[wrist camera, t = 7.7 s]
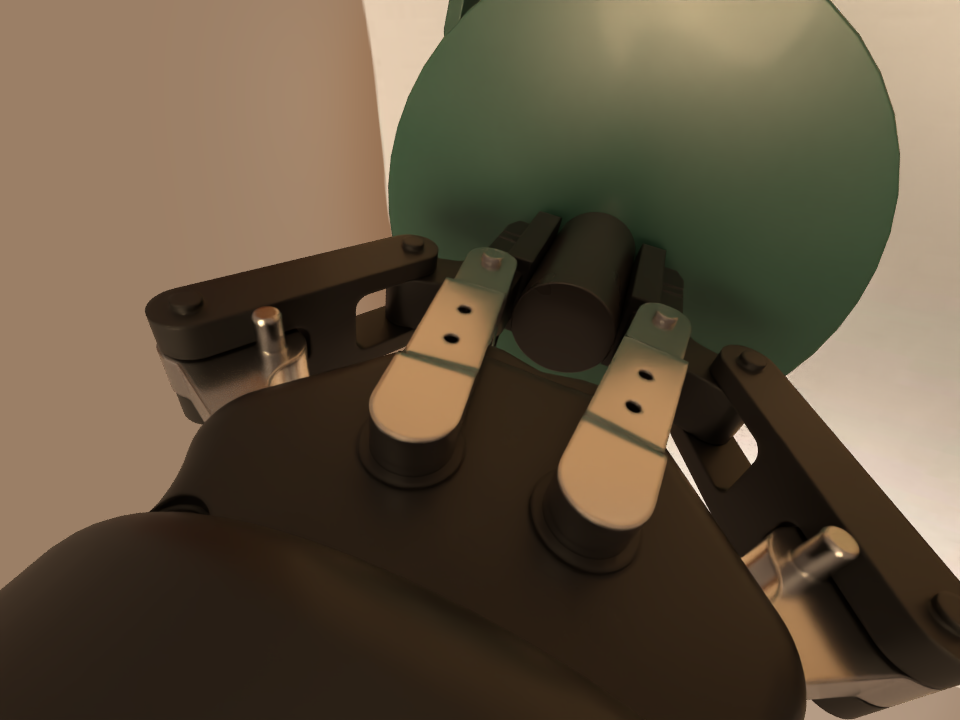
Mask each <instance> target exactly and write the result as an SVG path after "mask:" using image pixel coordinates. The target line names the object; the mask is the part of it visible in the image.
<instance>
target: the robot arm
mask: <svg viewBox="0 0 960 720" xmlns="http://www.w3.org/2000/svg"><path fill="white" fill-rule="evenodd" d="M561 220H562V218H561V217H558V216H555V215H552V214H548V213H545V212H542V211H539V212H538V214H537V215H536V216H535V218H534V219H533V220H532V222H531V223H530V224H529V223H526V222H523V221H517V222H514V223H511V224H508V226H507V227H506V228H505V229H504V230H503V232H501V234H500V235H499V236H498V237H497V238H496V239H495V240H494V242H493V243H492V244H491V245H490V246H489V247H479V248H475V249H472V250H471V251H469V253H468V254H467V256H466V258H465V260H464V261H455V260H448V259H442V258H438V252H439V248H438V246H437V244H436V243H435V242H433V241H432V240H430V239H428V238H425V237H423V236H419V235H411V234H404V235H397V236H393V237H389V238H385V239H380V240H376V241H372V242H368V243H364V244H359V245H355V246H351V247H347V248H343V249H338V250H334V251H330V252H326V253H322V254H317V255H314V256H309V257H305V258H300V259H296V260H292V261H288V262H284V263H279V264H276V265H271V266H267V267H263V268H259V269H254V270H250V271H246V272H241V273H238V274H233V275H229V276H225V277H221V278H216V279H213V280H208V281H204V282H200V283H195V284H191V285H187V286H183V287H179V288H174V289H171V290H168V291H165V292H162V293H161V294H158V295H157V296H155V297H154V298H152V299H151V300H150V301H149V302H148V304H147V306H146V308H145V313H146V316H147V319H148V321H149V324H150V327H151V329H152V332H153V334H154V337H155V339H156V342H157V351H158V353H159V356H160V359H161V361H162V363H163V366H164V369H165V371H166V374H167V376H168V379H169V381H170V384H171V387H172V388H173V390H174V391H175V392H176V393H177V396H178V398H179V401H180V404H181V406H182V409H183V412H184V414H185V416H186V417H187V418H188V419H189V420H191V421H193V422H195V423H198V424H203V425H202V426H201V427H200V429H199V430H198V432H197V433H196V435H195V437H194V438H193V440H192V442H191V445H190V447H189V450H188V452H187V455H186V457H185V461H184V463H183V465H182V468H181V469H180V471H179V473H178V475H177V477H176V479H175V480H174V482H173V483H172V485H171V487H170V488H169V490H168V491H167V492H166V494H165V495H164V496H163V498H162V499H161V500H160V502H159V503H158V504H157V505H156V506H155V507H154V508H153V509H152V510H151V511H150V512H146V513H136V514H130V515H124V516H120V517H116V518H112V519H109V520H106V521H102V522H99V523H96V524H93V525H91V526H89V527H87V528H84V529H82V530H80V531H78V532H76V533H74V534H73V535H71V536H69V537H68V538H66V539H65V540H63V541H61V542H60V543H58V544H57V545H55V546H53V547H52V548H51V549H49V550H48V551H47V552H46V553H44V554H43V555H42V556H41V557H40V558H39V559H37V560H36V561H35V562H33V564H31V565H30V566H29V567H27V568H26V569H25V570H24V571H23V572H22V573H21V574H19V575H18V576H17V577H16V578H14V579H13V580H12V581H11V582H10V583H9V584H7V585H6V586H5V587H4V588H2V589H1V590H0V720H804V717H805V712H806V700H812V701H813V702H815V703H816V704H817V705H818V706H819V707H821V708H822V709H824V710H825V711H826V712H828V713H830V714H832V715H834V716H836V717H839V718H842V719H855V718H858V717H861V716H864V715H867V714H870V713H873V712H877V711H880V710H883V709H886V708H889V707H892V706H895V705H898V704H901V703H905V702H908V701H911V700H914V699H917V698H920V697H923V696H926V695H929V694H933V693H936V692H939V691H942V690H945V689H947V688H951V687H954V686H957V685H960V581H959V580H958V579H957V577H956V576H955V575H954V574H953V573H952V572H951V570H950V569H949V568H948V567H947V566H946V564H945V563H944V562H943V561H942V560H941V559H940V557H939V556H938V555H937V554H936V553H935V552H934V550H933V549H932V548H931V547H930V546H929V545H928V543H927V542H926V541H925V540H924V539H923V537H922V536H921V535H920V534H919V533H918V532H917V530H916V529H915V528H914V527H913V526H912V525H911V523H910V522H909V521H908V520H907V519H906V517H905V516H904V515H903V514H902V513H901V512H900V510H899V509H898V508H897V507H896V506H895V505H894V503H893V502H892V501H891V500H890V499H889V498H888V496H887V495H886V494H885V493H884V492H883V490H882V489H881V488H880V487H879V486H878V485H877V483H876V482H875V481H874V480H873V479H872V478H871V476H870V475H869V474H868V473H867V472H866V470H865V469H864V468H863V467H862V466H861V465H860V463H859V462H858V461H857V460H856V459H855V458H854V456H853V455H852V454H851V453H850V452H849V451H848V449H847V448H846V447H845V446H844V445H843V443H842V442H841V441H840V440H839V439H838V438H837V436H836V435H835V434H834V433H833V432H832V431H831V429H830V428H829V427H828V426H827V425H826V423H825V422H824V421H823V420H822V419H821V418H820V416H819V415H818V414H817V413H816V412H815V411H814V409H813V408H812V407H811V406H810V405H809V404H808V402H807V401H806V400H805V399H804V398H803V396H802V395H801V394H800V393H799V392H798V391H797V389H796V388H795V387H794V386H793V385H792V384H791V382H790V381H789V380H788V379H787V378H786V376H785V375H784V374H783V373H782V372H781V371H780V369H779V368H778V367H777V366H776V365H775V364H774V363H773V362H772V361H771V360H770V359H769V358H767V357H766V356H765V355H763V354H761V353H760V352H758V351H756V350H753V349H751V348H748V347H745V346H741V345H732V344H731V345H726V346H724V347H723V348H722V349H721V351H720V352H719V354H717V353H715V352H713V351H711V350H709V349H707V348H706V347H704V346H702V345H700V344H699V343H697V342H696V341H695V340H694V339H692V338H691V337H690V335H691V331H692V324H691V322H690V320H689V319H688V318H687V317H686V316H685V315H684V314H683V289H684V280H683V279H682V277H681V276H680V274H679V273H678V272H677V271H676V270H673V269H669V268H666V267H665V258H666V250H663V249H660V248H656V247H653V246H650V245H647V244H644V243H643V244H642V245H641V247H640V249H639V252H638V254H637V256H636V258H635V261H634V263H633V266H632V271H631V275H630V279H629V284H628V288H627V292H626V296H625V301H624V305H623V309H622V314H621V318H620V322H619V327H618V331H617V335H616V340H615V343H614V346H613V349H612V350H611V352H610V354H609V355H608V356H607V357H606V358H605V359H604V360H603V361H602V362H601V364H602V365H605V366H607V367H608V368H607V370H606V372H605V374H604V376H603V378H602V380H601V382H600V384H599V385H596V384H593V383H591V382H588V381H585V380H581V379H576V378H570V377H565V376H560V375H555V374H550V373H545V372H542V371H539V370H537V369H535V368H534V367H532V366H530V365H529V364H527V363H525V362H523V361H522V360H520V359H518V358H517V357H515V356H513V355H511V354H510V353H508V352H506V351H505V350H502V349H499V348H497V343H498V339H499V335H500V334H501V333H502V332H503V330H504V329H506V330H509V331H512V330H511V315H512V311H513V308H514V306H515V304H516V302H517V300H518V299H519V297H520V295H521V294H522V292H523V290H524V289H525V287H526V286H527V284H528V282H529V281H530V279H531V277H532V276H533V274H534V273H535V271H536V269H537V268H538V266H539V264H540V263H541V261H542V259H543V258H544V256H545V254H546V253H547V251H548V249H549V248H550V246H551V245H552V243H553V241H554V240H555V238H556V236H557V234H558V231H559V228H560V224H561ZM383 289H386V306H383V307H380V308H378V309H375V310H372V311H369V312H366V313H363V314H360V315H357V316H356V306H357V303H358V302H359V301H360V300H361V299H362V298H363V297H364V296H366V295H368V294H370V293H374V292H377V291H380V290H383ZM405 346H406V348H405V349H404V350H403V351H398V352H396V353H392V354H389V353H391V352H393V351H395V350H398V349H401V348H403V347H405ZM386 354H389V355H386ZM384 355H385V356H384ZM744 423H745V425H746V426H747V428H748V429H749V431H750V432H751V434H752V435H753V437H754V438H755V440H756V442H757V446H758V455H757V458H756V460H755V462H754V463H753V464H752V465H751V464H750V462H749V461H748V459H747V458H746V456H745V454H744V453H743V451H742V450H741V448H740V447H739V445H738V443H737V442H736V440H735V439H734V437H733V436H734V435H735V433H736V432H737V431H738V430H739V429H740V427H741V426H742V425H743V424H744ZM670 433H671V436H672V438H673V440H674V442H675V444H676V446H677V448H678V450H679V452H680V454H681V456H682V458H683V460H684V462H685V464H686V465H687V467H688V469H689V471H690V473H691V475H692V477H693V479H694V481H695V483H696V485H697V487H698V489H699V491H700V493H701V495H702V497H703V499H704V501H705V503H706V505H707V507H708V509H709V510H708V509H707V507H706V506H705V504H704V503H703V502H702V500H701V499H700V497H699V496H698V494H697V493H696V491H695V490H694V488H693V487H692V485H691V484H690V482H689V481H688V479H687V478H686V477H685V475H684V474H683V472H682V471H681V469H680V468H679V466H678V465H677V463H676V462H675V460H674V459H673V457H672V456H671V454H670V453H669V452H668V450H667V449H666V445H667V441H668V438H669V434H670ZM709 511H710V512H709Z"/></svg>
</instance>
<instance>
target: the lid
mask: <svg viewBox="0 0 960 720" xmlns="http://www.w3.org/2000/svg"><path fill="white" fill-rule="evenodd" d="M899 168H900V151H899V143H898V136H897V128H896V121H895V113H894V110H893V107H892V104H891V101H890V98H889V95H888V92H887V89H886V86H885V83H884V80H883V77H882V74H881V72H880V70H879V68H878V66H877V65H876V63H875V61H874V59H873V58H872V56H871V54H870V52H869V50H868V49H867V47H866V45H865V43H864V42H863V40H862V38H861V36H860V34H859V33H858V32H857V31H856V30H855V29H854V27H853V26H852V25H851V24H850V23H849V22H848V20H847V19H846V18H845V17H844V16H843V15H842V13H841V12H840V11H839V10H838V9H837V8H836V6H835V5H834V4H833V3H832V2H831V1H830V0H480V1H479V2H478V3H477V4H475V5H474V6H473V7H472V8H471V9H469V10H468V11H467V12H466V14H465V15H464V16H463V17H462V18H461V19H460V20H459V21H458V22H457V23H456V25H455V26H454V27H453V28H452V29H451V30H450V31H449V32H448V33H447V34H446V36H445V37H444V38H443V39H442V41H441V42H440V43H439V45H438V46H437V48H436V49H435V51H434V52H433V54H432V55H431V57H430V58H429V60H428V61H427V62H426V64H425V65H424V67H423V69H422V71H421V73H420V75H419V77H418V79H417V81H416V83H415V84H414V86H413V88H412V90H411V92H410V94H409V96H408V99H407V102H406V105H405V107H404V110H403V113H402V116H401V119H400V121H399V124H398V127H397V132H396V136H395V141H394V145H393V150H392V154H391V162H390V172H389V183H388V193H389V216H390V223H391V231H392V237H393V236H397V235H404V234H411V235H419V236H423V237H425V238H428V239H430V240H432V241H433V242H435V243H436V244H437V246H438V248H439V252H438V258H442V259H448V260H455V261H464V260H465V258H466V256H467V254H468V253H469V251H471V250H472V249H475V248H479V247H489V246H490V245H491V244H492V243H493V242H494V240H495V239H496V238H497V237H498V236H499V235H500V234H501V232H503V230H504V229H505V228H506V227H507V226H508V224H511V223H514V222H517V221H523V222H526V223H529V224H530V223H531V222H532V220H533V219H534V218H535V216H536V215H537V214H538V212H539V211H542V212H545V213H548V214H552V215H555V216H558V217H561V218H562V220H561V224H560V228H559V231H558V234H557V236H556V238H555V240H554V241H553V243H552V245H551V246H550V248H549V249H548V251H547V253H546V254H545V256H544V258H543V259H542V261H541V263H540V264H539V266H538V268H537V269H536V271H535V273H534V274H533V276H532V277H531V279H530V281H529V282H528V284H527V286H526V287H525V289H524V290H523V292H522V294H521V295H520V297H519V299H518V300H517V302H516V304H515V306H514V308H513V311H512V315H511V330H512V331H509V330H506V329H504V330H503V332H502V333H501V334H500V335H499V339H498V343H497V348H499V349H502V350H505V351H506V352H508V353H510V354H511V355H513V356H515V357H517V358H518V359H520V360H522V361H523V362H525V363H527V364H529V365H530V366H532V367H534V368H535V369H537V370H539V371H542V372H545V373H550V374H555V375H560V376H565V377H570V378H576V379H581V380H585V381H588V382H591V383H593V384H596V385H599V384H600V382H601V380H602V378H603V376H604V374H605V372H606V370H607V368H608V367H607V366H605V365H602V364H601V362H602V361H603V360H604V359H605V358H606V357H607V356H608V355H609V354H610V352H611V350H612V349H613V346H614V343H615V340H616V335H617V331H618V327H619V322H620V318H621V314H622V309H623V305H624V301H625V296H626V292H627V288H628V284H629V279H630V275H631V271H632V266H633V263H634V261H635V258H636V256H637V254H638V252H639V249H640V247H641V245H642V244H643V243H644V244H647V245H650V246H653V247H656V248H660V249H663V250H666V258H665V267H666V268H669V269H673V270H676V271H677V272H678V273H679V274H680V276H681V277H682V279H683V280H684V289H683V314H684V315H685V316H686V317H687V318H688V319H689V320H690V322H691V324H692V331H691V335H690V337H691V338H692V339H694V340H695V341H696V342H697V343H699V344H700V345H702V346H704V347H706V348H707V349H709V350H711V351H713V352H715V353H717V354H719V352H720V351H721V349H722V348H723V347H724V346H726V345H731V344H732V345H741V346H745V347H748V348H751V349H753V350H756V351H758V352H760V353H761V354H763V355H765V356H766V357H767V358H769V359H770V360H771V361H772V362H773V363H774V364H775V365H776V366H777V367H778V368H779V369H780V371H781V372H782V373H783V374H784V375H785V376H786V375H787V374H789V373H790V372H791V371H793V370H794V369H795V368H796V367H798V366H799V365H800V364H801V363H803V362H804V361H805V360H806V359H808V358H809V357H810V356H811V355H813V354H814V353H815V352H816V351H817V350H818V349H819V348H820V347H821V346H822V345H823V344H824V343H825V342H826V341H827V339H828V338H829V337H830V336H831V335H832V334H833V333H834V332H835V331H836V330H837V329H838V328H839V327H840V325H841V324H842V323H843V321H844V320H845V319H846V317H847V316H848V315H849V313H850V312H851V311H852V309H853V308H854V307H855V305H856V304H857V303H858V301H859V300H860V298H861V296H862V294H863V293H864V291H865V289H866V287H867V285H868V284H869V282H870V280H871V278H872V276H873V275H874V273H875V271H876V269H877V267H878V264H879V262H880V259H881V256H882V254H883V251H884V248H885V246H886V243H887V241H888V238H889V235H890V232H891V227H892V223H893V218H894V213H895V209H896V204H897V199H898V191H899Z"/></svg>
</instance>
